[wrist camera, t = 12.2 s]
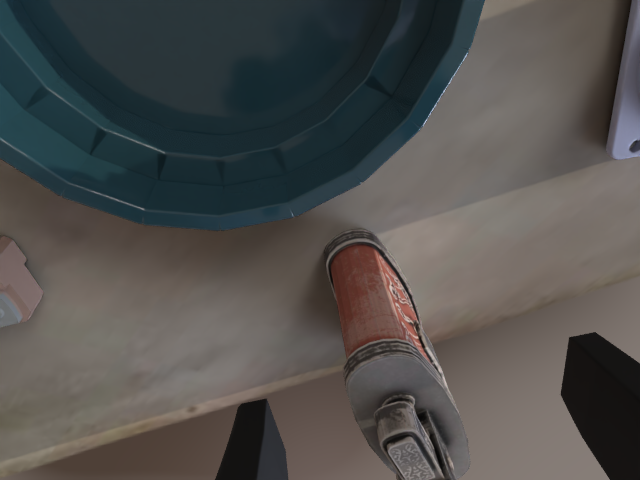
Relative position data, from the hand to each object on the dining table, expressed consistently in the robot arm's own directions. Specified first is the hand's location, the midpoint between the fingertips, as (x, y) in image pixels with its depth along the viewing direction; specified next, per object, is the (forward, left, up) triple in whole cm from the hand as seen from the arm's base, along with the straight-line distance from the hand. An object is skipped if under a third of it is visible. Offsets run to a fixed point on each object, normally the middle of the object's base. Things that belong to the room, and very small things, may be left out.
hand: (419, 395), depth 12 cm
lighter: (0, +6, -11) cm, 12 cm away
